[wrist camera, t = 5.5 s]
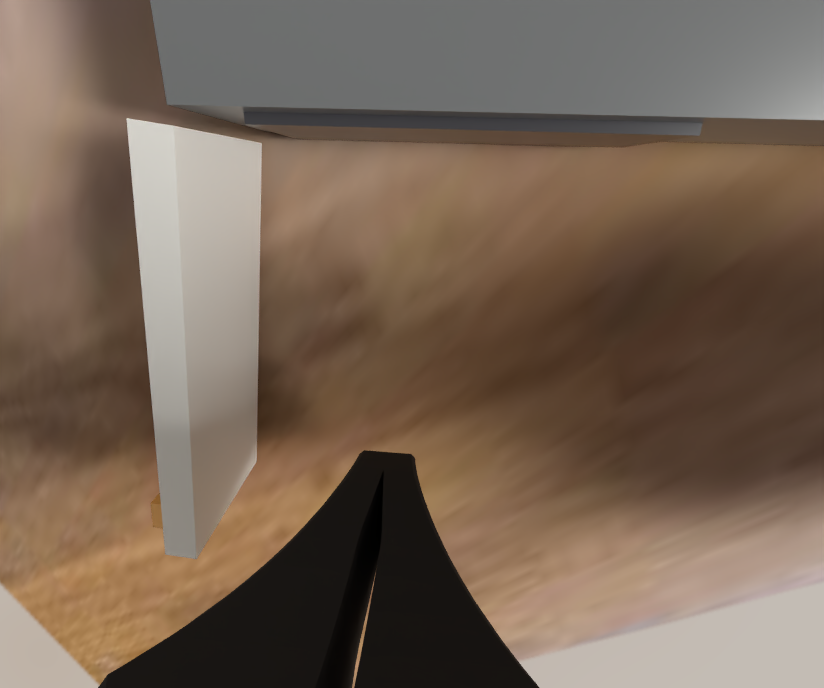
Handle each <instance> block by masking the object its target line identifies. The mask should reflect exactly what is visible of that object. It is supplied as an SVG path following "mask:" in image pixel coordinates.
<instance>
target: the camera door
mask: <svg viewBox="0 0 824 688" xmlns="http://www.w3.org/2000/svg"><path fill="white" fill-rule="evenodd" d="M126 119H127V130H128V141H129V152H130V163H131V175H132V186H133V197H134V208H135V219H136V231H137V242H138V253H139V264H140V275H141V287H142V298H143V309H144V320H145V332H146V343H147V354H148V365H149V376H150V388H151V399H152V410H153V421H154V432H155V444H156V455H157V466H158V477H159V488H160V493H159V494H158V495H157V496H156V498H155V499H154V500H153V501H152V502H151V512H152V522H153V527H156V528H163V533H164V544H165V554H166V555H173V556H180V557H186V558H193V559H197V558H198V556H199V554H200V553H201V551H202V549H203V548H204V546H205V545H206V543H207V541H208V540H209V538H210V536H211V535H212V533H213V531H214V530H215V528H216V527H217V525H218V523H219V522H220V520H221V518H222V517H223V515H224V514H225V512H226V510H227V509H228V507H229V505H230V504H231V502H232V501H233V499H234V497H235V496H236V494H237V492H238V491H239V489H240V488H241V486H242V484H243V483H244V481H245V479H246V478H247V476H248V475H249V473H250V471H251V470H252V468H253V466H254V465H255V463H256V462H257V406H258V345H259V284H260V223H261V162H262V143H259V142H254V141H249V140H244V139H239V138H233V137H228V136H223V135H218V134H213V133H208V132H203V131H198V130H193V129H188V128H183V127H178V126H172V125H166V124H160V123H154V122H147V121H141V120H135V119H129V118H126Z"/></svg>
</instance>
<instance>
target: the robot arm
mask: <svg viewBox="0 0 824 688" xmlns="http://www.w3.org/2000/svg"><path fill="white" fill-rule="evenodd" d="M376 568H377V569H376ZM375 572H376V575H375ZM374 577H375V581H374ZM373 581H374V587H373V592H372V598H371V604H370V609H369V615H368V620H367V625H366V631H365V636H364V641H363V647H362V652H361V657H360V662H359V667H358V672H357V677H356V682H355V687H354V688H539V687H538V686H537V684H536V683H535V682H534V681H533V679H532V678H531V677H530V676H529V675H528V673H527V672H526V671H525V670H524V669H523V667H522V666H521V665H520V663H519V662H518V661H517V659H516V658H515V657H514V655H513V654H512V653H511V652H510V650H509V649H508V648H507V646H506V645H505V644H504V642H503V641H502V640H501V638H500V637H499V635H498V634H497V633H496V631H495V630H494V628H493V627H492V625H491V624H490V622H489V621H488V620H487V618H486V617H485V615H484V614H483V612H482V611H481V609H480V608H479V606H478V605H477V604H476V602H475V601H474V599H473V597H472V596H471V594H470V592H469V591H468V589H467V587H466V586H465V584H464V582H463V581H462V579H461V577H460V576H459V574H458V572H457V570H456V568H455V567H454V565H453V563H452V561H451V559H450V557H449V555H448V553H447V551H446V549H445V547H444V545H443V543H442V541H441V539H440V537H439V534H438V532H437V530H436V528H435V525H434V523H433V521H432V518H431V516H430V513H429V510H428V508H427V505H426V502H425V500H424V497H423V494H422V491H421V487H420V483H419V480H418V476H417V471H416V465H415V458H414V457H413V456H412V454H402V453H390V452H377V451H365V450H364V451H363V452H362V453H360V454H359V456H358V458H357V460H356V461H355V463H354V464H353V466H352V467H351V469H350V470H349V472H348V473H347V475H346V476H345V478H344V479H343V480H342V482H341V483H340V484H339V486H338V487H337V488H336V489H335V491H334V492H333V493H332V495H331V496H330V497H329V498H328V500H327V501H326V502H325V503H324V505H323V506H322V507H321V508H320V509H319V510H318V511H317V513H316V514H315V515H314V516H313V517H312V518H311V519H310V520H309V521H308V523H307V524H306V525H305V526H304V527H303V528H302V529H301V530H300V531H299V532H298V533H297V534H296V535H295V536H294V537H293V538H292V539H291V540H290V541H289V542H288V543H287V544H286V545H285V546H284V547H283V548H282V549H281V550H280V551H279V552H278V553H277V554H276V555H275V556H274V557H273V558H272V559H270V560H269V561H268V562H267V563H266V564H265V565H264V566H262V567H261V568H260V569H259V570H258V571H257V572H255V573H254V574H253V575H252V576H251V577H250V578H248V579H247V580H246V581H245V582H244V583H242V584H241V585H240V586H239V587H238V588H236V589H235V590H234V591H232V592H231V593H230V594H229V595H227V596H226V597H225V598H223V599H222V600H221V601H219V602H218V603H216V604H215V605H214V606H212V607H211V608H210V609H208V610H207V611H205V612H204V613H203V614H201V615H200V616H199V617H197V618H196V619H194V620H193V621H192V622H190V623H189V624H188V625H186V626H185V627H183V628H182V629H180V630H179V631H177V632H176V633H174V634H173V635H171V636H170V637H168V638H167V639H165V640H163V641H162V642H160V643H159V644H157V645H155V646H154V647H152V648H151V649H149V650H147V651H146V652H144V653H143V654H141V655H139V656H138V657H136V658H135V659H133V660H131V661H130V662H128V663H127V664H125V665H123V666H122V667H120V668H118V669H116V670H115V671H113V672H111V673H110V674H108V675H107V676H106V678H105V679H104V680H103V682H102V683H101V685H100V686H99V687H98V688H352V684H353V677H354V670H355V664H356V658H357V653H358V648H359V643H360V638H361V634H362V630H363V625H364V621H365V616H366V612H367V608H368V603H369V599H370V595H371V590H372V586H373Z"/></svg>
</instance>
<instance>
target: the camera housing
mask: <svg viewBox="0 0 824 688" xmlns="http://www.w3.org/2000/svg"><path fill="white" fill-rule="evenodd" d="M150 3H151V10H152V16H153V22H154V28H155V34H156V40H157V46H158V52H159V59H160V65H161V71H162V77H163V83H164V89H165V95H166V102H167V105H170V106H174V107H178V108H181V109H185V110H189V111H192V112H196V113H200V114H203V115H207V116H211V117H214V118H218V119H222V120H225V121H229V122H233V123H237V124H240V125H244V126H248V127H251V128H255V129H259V130H262V131H266V132H274V133H278V134H281V135H285V136H288V137H292V138H296V139H318V140H356V141H395V142H433V143H472V144H510V145H549V146H587V147H629V146H635V145H642V144H648V143H655V142H694V143H734V144H773V145H812V146H824V0H150Z"/></svg>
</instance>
